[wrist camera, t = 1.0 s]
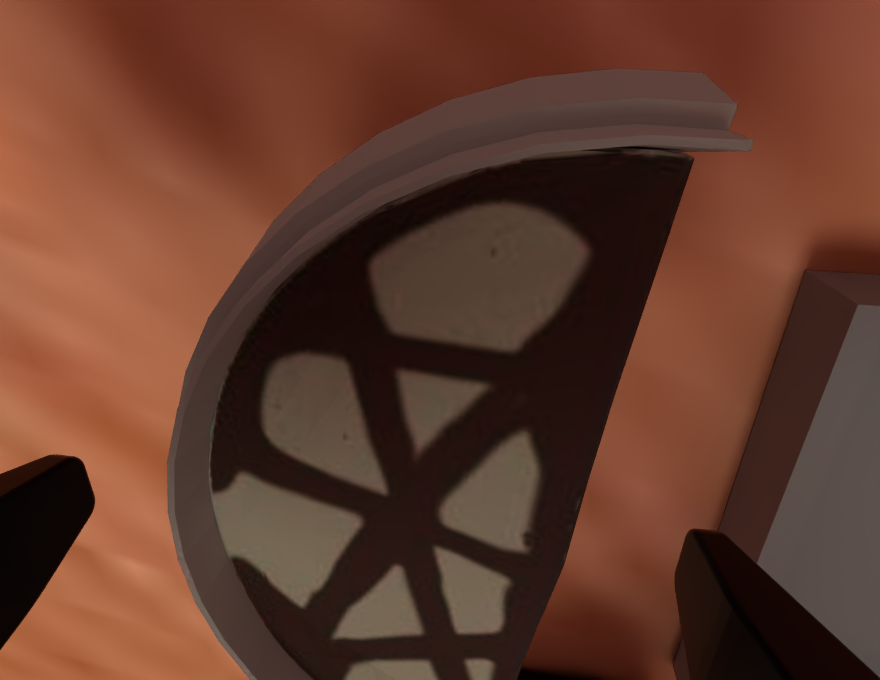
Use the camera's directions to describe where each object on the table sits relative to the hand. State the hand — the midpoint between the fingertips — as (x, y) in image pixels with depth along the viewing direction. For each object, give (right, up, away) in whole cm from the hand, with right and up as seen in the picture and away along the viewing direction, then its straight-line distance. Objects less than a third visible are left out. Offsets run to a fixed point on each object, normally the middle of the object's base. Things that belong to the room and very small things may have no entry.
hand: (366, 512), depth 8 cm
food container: (+1, +4, +8) cm, 9 cm away
